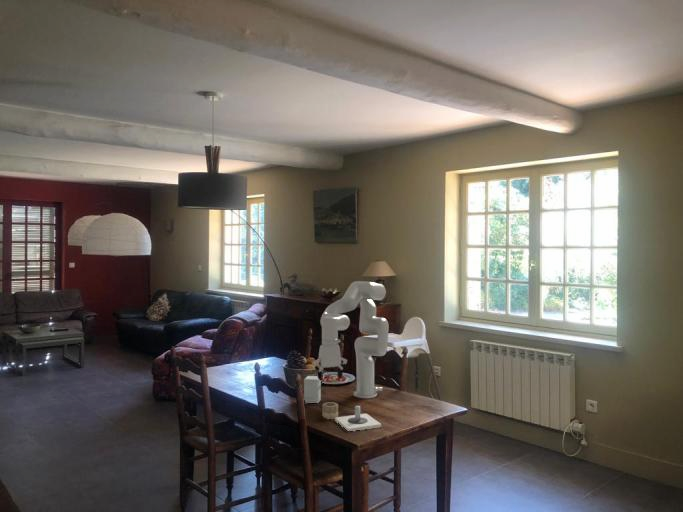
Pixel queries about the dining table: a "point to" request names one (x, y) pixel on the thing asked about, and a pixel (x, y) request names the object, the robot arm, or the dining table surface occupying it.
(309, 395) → the supplement box
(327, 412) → the beech collar
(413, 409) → the dining table surface
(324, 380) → the ceramic plate
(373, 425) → the steel post stand
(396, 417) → the dining table surface
